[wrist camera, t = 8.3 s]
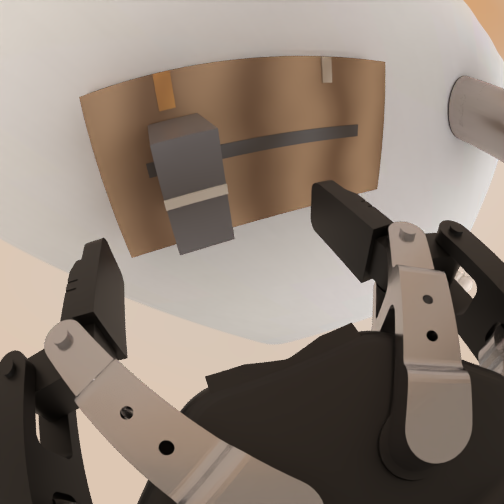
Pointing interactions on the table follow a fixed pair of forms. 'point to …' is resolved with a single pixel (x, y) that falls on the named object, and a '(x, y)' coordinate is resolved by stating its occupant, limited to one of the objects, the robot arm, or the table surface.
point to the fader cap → (192, 181)
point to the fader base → (242, 135)
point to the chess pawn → (464, 280)
